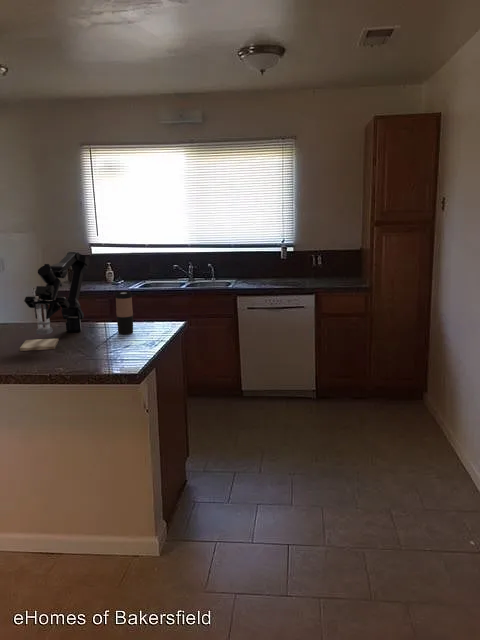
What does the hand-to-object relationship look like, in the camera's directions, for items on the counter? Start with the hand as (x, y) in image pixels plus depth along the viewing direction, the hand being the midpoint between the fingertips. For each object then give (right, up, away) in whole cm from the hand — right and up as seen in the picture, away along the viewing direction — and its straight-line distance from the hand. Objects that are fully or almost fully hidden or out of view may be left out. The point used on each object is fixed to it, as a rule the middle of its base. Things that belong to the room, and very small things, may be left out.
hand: (41, 318), depth 229 cm
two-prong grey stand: (0, -6, +3) cm, 7 cm away
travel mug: (+31, -7, +27) cm, 42 cm away
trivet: (-3, -12, +5) cm, 13 cm away
